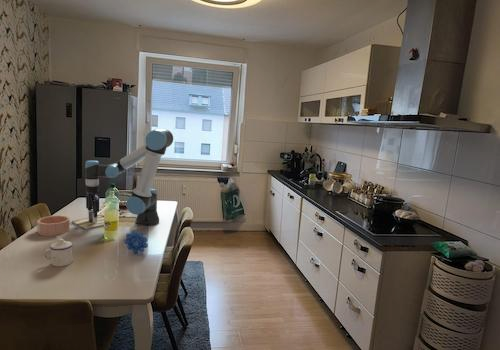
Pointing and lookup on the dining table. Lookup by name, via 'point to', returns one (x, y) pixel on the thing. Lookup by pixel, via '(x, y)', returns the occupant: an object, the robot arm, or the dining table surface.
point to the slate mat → (83, 229)
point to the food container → (124, 196)
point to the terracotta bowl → (53, 225)
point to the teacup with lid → (60, 253)
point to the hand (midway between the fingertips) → (92, 220)
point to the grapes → (136, 241)
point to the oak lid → (89, 222)
